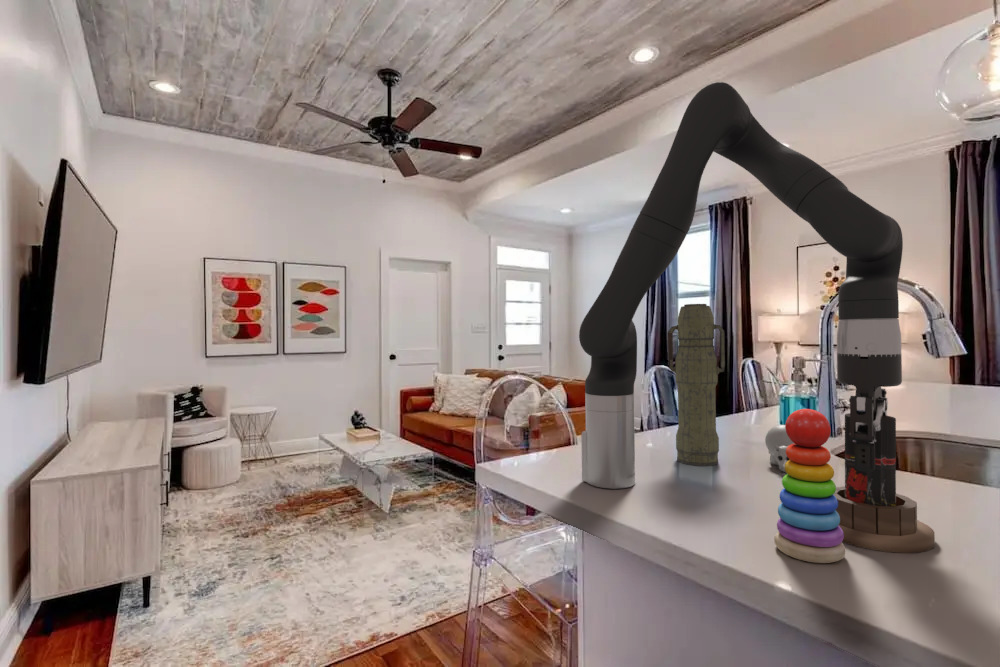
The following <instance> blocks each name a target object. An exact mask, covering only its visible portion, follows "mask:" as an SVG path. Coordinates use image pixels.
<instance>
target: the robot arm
mask: <svg viewBox="0 0 1000 667" xmlns="http://www.w3.org/2000/svg"><path fill="white" fill-rule="evenodd" d="M681 118H682V119H681V121H680V123H679V126H678V129H677V131H676V134H675V137H674V140H673V141H672V144H671V146H670V149H669V152H668V155H667V157H666V159H665V162H664V163H663V166H662V167H661V170H660V172H659V173H658V176H657V178H656V180H655V182H654V183H653V185H652V186H653V187H652V188H651V189H650V190H651V191H650V193H649V194H648V197H647V199H646V201H645V203H644V204H643V207H641V209H640V212H639V214H638V216H637V218H636V219H635V221H634V224H633V225H632V228H631V229H630V232H629V234H628V236H627V238H626V241H625V243H624V245H623V247H622V249H621V251H620V253H619V256H618V257H617V259H616V262H615V264H614V266H613V268H612V270H611V273H610V274H609V277H608V279H607V281H606V283H605V284H604V287H603V288H602V290H601V291H600V293H599V294H598V296H597V298H596V299H595V301H594V302H593V304H592V305H591V307H590V308H589V310H588V311H587V313H586V315H585V316H584V318H583V320H582V322H581V324H580V327H579V332H578V333H579V334H578V338H579V342H580V344H579V345H580V346H581V348H582V350H583V351H584V352H585V353H586V354H587V355H588V356H590V359H591V361H590V369H589V373H588V374H587V376H586V378H585V381H584V392H585V393H584V395H585V399H584V400H585V401H584V402H585V407H584V408H585V430H583V431H581V440H580V442H581V481H582V482H586V483H587V484H588V485H591V486H593V487H597V488H603V489H613V490H615V489H617V490H618V489H628V488H630V487H633V486H634V485H635V484H636V467H635V466H636V459H635V458H636V457H635V456H636V455H635V454H636V450H635V446H636V444H635V440H636V439H635V436H636V435H635V381H636V378H637V369H638V337H637V336H638V333H637V329H636V325H635V323H634V321H633V318H634V316H635V314H636V312H637V310H638V308H639V306H640V304H641V303H642V300H643V298H644V297H645V295H646V294H647V293H648V291H649V290H650V289H651V287H652V286H653V285H654V284H655V283H656V281H658V279H659V278H660V277H661V275H662V274H663V273H664V272H665V271H666V270H667V268H668V267H669V266H670V265H671V263H672V262H673V260H674V259H675V257H676V255H677V253H678V252H679V250H680V248H681V246H682V245H683V242H684V241H685V239H686V237H687V234H688V233H689V231H690V228H691V227H692V223H693V221H694V217H695V213H696V208H697V202H698V196H699V195H698V194H699V189H700V185H701V180H702V177H703V174H704V171H705V169H706V166H707V164H708V162H709V160H710V159H711V157H712V155H713V153H716V154H717V155H718V156H719V155H720V156H722V157H723V158H725V159H727V160H729V161H731V162H733V163H735V164H736V165H738V166H739V167H741V168H743V169H744V170H745V171H747V172H748V173H750V175H752V176H754V178H755V179H757V181H759V182H760V183H761V184H762V186H764V187H765V188H766V189H767V190H768V191H769V192H770V193H771V194H772V195H773V196H774V197H775V198H777V199H778V200H779V201H780V202H781V203H782V204H783V205H785V206H786V207H787V208H788V209H790V210H791V211H792V212H794V214H796V215H797V216H799V218H800V219H802V220H804V221H805V222H806V223H808V224H809V225H810V226H811V227H812V228H813V230H814V231H815V232H816V233H817V234H818V235H819V236H820V237H821V238H822V239H823V240H824V241H825V242H826V244H828V245H829V246H830V247H832V248H833V249H834V250H835V251H836V252H837V253H839V254H840V255H842V256H843V257H846V267H845V268H846V269H845V280H844V281H843V282H842V283H841V284H840V286H839V289H838V296H837V297H838V302H837V303H838V304H837V306H838V325H837V332H836V370H837V371H836V372H837V374H836V377H837V379H836V380H837V382H838V383H839V384H841V385H844V386H845V385H846V386H853V387H855V395H850V398H848V399H849V413H850V434H849V437H850V439H851V440H853V443H855V468H856V470H858V471H864V472H873V471H874V470H875V442H876V432H877V431H880V430H881V420H882V416H888V404H889V400H888V397H886V395H887V390H886V388H882V387H887V388H888V387H889V388H890V387H897V386H900V385H901V384H902V383H903V375H902V374H903V371H902V370H903V369H902V366H903V364H902V356H903V355H902V331H901V327H900V320H899V317H900V315H899V311H900V310H899V290H898V285H899V284H898V283H899V277H900V271H901V264H902V258H903V248H904V247H903V245H904V244H903V239H904V238H903V232H902V229H901V226H900V225H899V223H898V222H897V220H896V219H895V218H893V217H891V216H890V215H888V214H886V213H883V212H882V211H880V210H878V209H877V208H875V207H874V206H872V205H871V204H869V203H868V202H866V201H865V200H864V199H862V198H860V197H859V196H857V195H856V194H855V193H853V192H852V191H851V190H850V189H849V188H848V187H847V185H846V184H844V182H843V181H841V180H840V179H839V178H837V177H836V176H835V175H834V174H832V173H831V172H830V171H828V170H827V169H825V168H824V167H822V166H821V165H820V164H819V163H817V162H815V161H814V160H813V159H811V158H810V157H808V156H806V155H804V154H803V153H801V152H799V151H796V150H794V149H792V148H790V147H789V146H786V145H784V144H783V143H781V142H780V141H779V140H777V139H776V138H774V136H772V135H771V134H770V133H769V132H768V131H767V130H766V129H765V128H764V127H763V125H761V123H760V122H759V121H758V119H756V118H755V116H754V115H753V114H752V112H751V108H750V107H749V105H748V103H747V102H746V101H745V100H744V99H743V97H742V96H741V94H740V93H739V92H738V91H737V90H736V89H735V88H734V87H733V86H732V85H731V84H729V83H727V82H724V81H715V82H712V83H710V84H707V85H705V86H704V87H702V88H701V89H700V90H699V91H698V92H697V93H696V94H695V95H694V96H693V98H692V99H691V100H690V101H689V103H688V105H687V107H686V109H685V111H684V113H683V116H682V117H681ZM873 419H876V420H875V421H873ZM860 429H864V430H868V433H866V432H859V430H860Z"/></svg>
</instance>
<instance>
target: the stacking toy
mask: <svg viewBox="0 0 1000 667" xmlns="http://www.w3.org/2000/svg"><path fill="white" fill-rule="evenodd" d="M786 418H787V419H786V420H785V424H784V425H785V429H786V433H787V435H788V437H789V438H790V439H791V441H792V442H794V443H795V444H791V445H789V446H788V447H787V449H786V455H787V457H788V458H789V459H790V460H789V461H787V462H786V464H785V471H786V474H785V475H784V476H783V477H782V479H781V484H782V487H783V488H782V489H781V491H780V493H779V500H780V502H781V503H780V504H779V505H778V508H777V514H778V516H779V518H778V520H777V522H776V529H777V531H778V532H776V533H775V535H774V544H775V546H776V548H777V549H779V551H780V552H782V553H783V554H785V555H787V556H788V557H791V558H793V559H797V560H799V561H804V562H809V563H815V564H831V563H836V562H839V561H841V560H843V559H844V557H845V556H846V552H847V551H846V547H845V544H844V542H842V541H843V538H844V533H843V530H842V529H841V528H840V527H839V526H838V525H839V523H840V516H839V514H838V513H837V512H836V511H835V510H836V509H837V507H838V501H837V499H836V497H835V496H834V495H833V494H834V493H835V491H836V487H837V486H836V484H835V482H834V480H832V479H833V478H834V476H835V470H834V468H833V466H832V465H831V464H829V462H830V460H831V452H830V450H828V449H827V447H824V446H823V445H824V444H826V443H827V441H828V440H829V438H830V436H831V432H832V431H831V424H830V422H829V419H828V418H827V417H826V416H825V415H824V414H823V413H821V412H820V411H818V410H815V409H811V408H801V409H797V410H795V411H793V412H792V413H790V414H789V416H788V417H786Z"/></svg>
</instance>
